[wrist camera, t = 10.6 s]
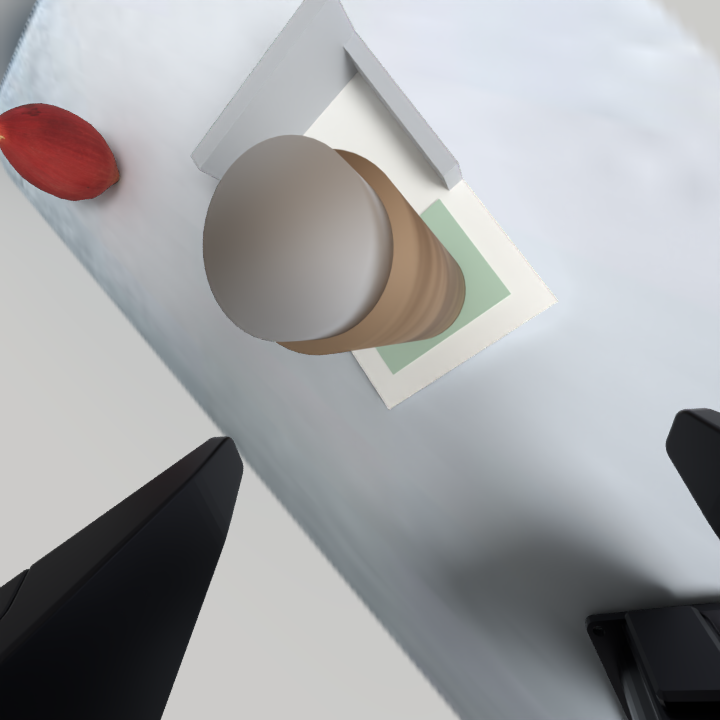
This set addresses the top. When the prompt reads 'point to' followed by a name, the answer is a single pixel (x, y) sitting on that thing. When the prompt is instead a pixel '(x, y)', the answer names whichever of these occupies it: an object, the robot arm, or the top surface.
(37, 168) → the onion
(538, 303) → the lane rack
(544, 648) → the top surface
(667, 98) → the top surface
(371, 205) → the pepper mill
